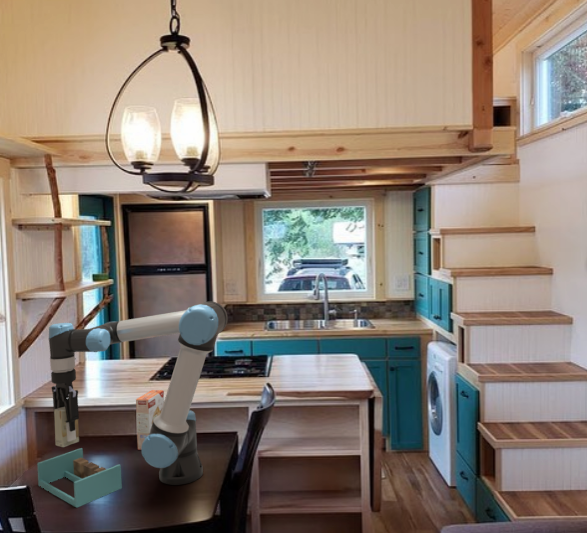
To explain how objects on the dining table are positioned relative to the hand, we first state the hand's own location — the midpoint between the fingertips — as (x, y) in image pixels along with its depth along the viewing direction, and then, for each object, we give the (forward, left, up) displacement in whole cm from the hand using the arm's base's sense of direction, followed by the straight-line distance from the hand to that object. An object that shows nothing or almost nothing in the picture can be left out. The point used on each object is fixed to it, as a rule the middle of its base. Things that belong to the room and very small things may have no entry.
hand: (67, 438), depth 174 cm
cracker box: (+12, -41, -18) cm, 47 cm away
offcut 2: (-7, -8, -18) cm, 21 cm away
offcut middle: (0, -8, -18) cm, 20 cm away
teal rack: (0, -3, -18) cm, 18 cm away
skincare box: (0, 0, -2) cm, 2 cm away
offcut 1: (+7, -8, -18) cm, 21 cm away
